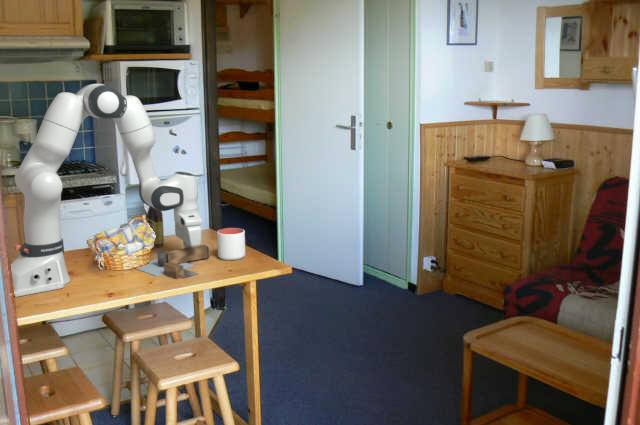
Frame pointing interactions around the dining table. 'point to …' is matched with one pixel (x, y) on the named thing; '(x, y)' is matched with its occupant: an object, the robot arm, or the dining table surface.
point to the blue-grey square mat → (159, 268)
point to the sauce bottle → (156, 225)
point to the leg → (183, 255)
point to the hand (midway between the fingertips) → (188, 253)
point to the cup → (231, 243)
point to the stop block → (177, 271)
